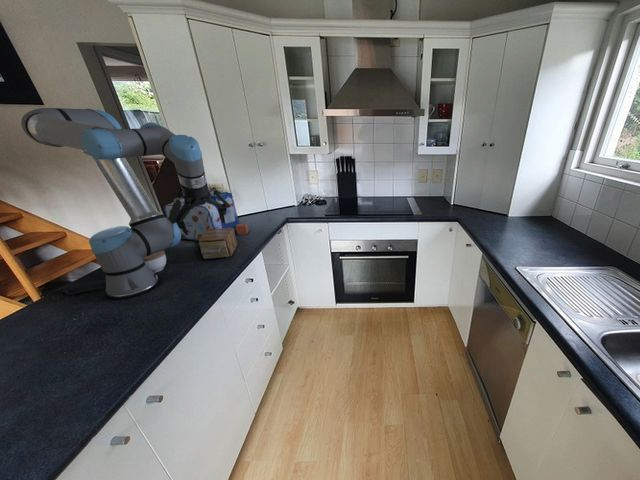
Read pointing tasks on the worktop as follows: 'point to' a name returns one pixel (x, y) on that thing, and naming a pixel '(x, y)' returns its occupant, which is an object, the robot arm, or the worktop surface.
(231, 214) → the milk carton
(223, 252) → the drawer
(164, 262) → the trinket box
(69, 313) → the worktop surface
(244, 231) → the block
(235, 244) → the cabinet
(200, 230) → the lunch box
